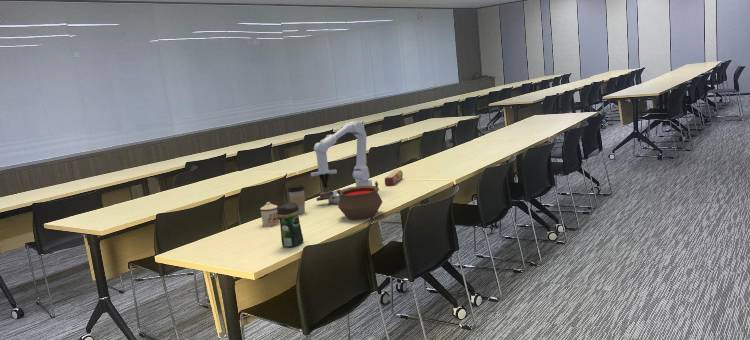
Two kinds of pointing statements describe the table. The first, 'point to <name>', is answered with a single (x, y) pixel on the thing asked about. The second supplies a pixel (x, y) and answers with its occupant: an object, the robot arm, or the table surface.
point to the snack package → (393, 177)
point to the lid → (329, 194)
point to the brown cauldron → (359, 202)
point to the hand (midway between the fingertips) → (325, 187)
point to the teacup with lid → (269, 215)
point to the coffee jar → (290, 225)
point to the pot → (330, 200)
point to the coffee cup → (297, 197)
